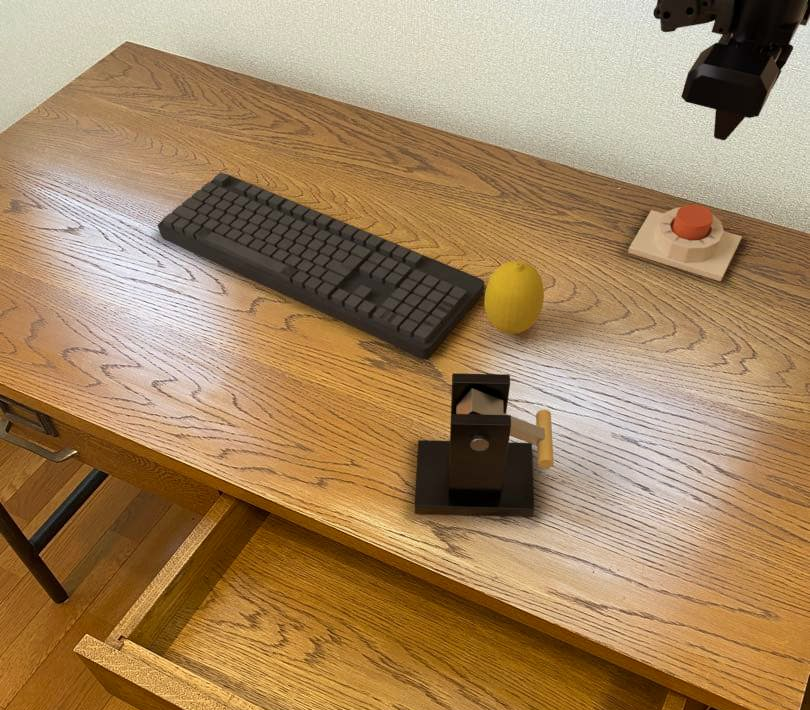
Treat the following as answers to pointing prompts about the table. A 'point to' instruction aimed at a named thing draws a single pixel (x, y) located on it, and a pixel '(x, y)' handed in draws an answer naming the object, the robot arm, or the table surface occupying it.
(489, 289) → the lemon
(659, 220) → the beige button base
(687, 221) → the button
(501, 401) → the lever
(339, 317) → the keyboard
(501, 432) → the black upright frame
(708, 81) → the robot arm
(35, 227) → the table surface
